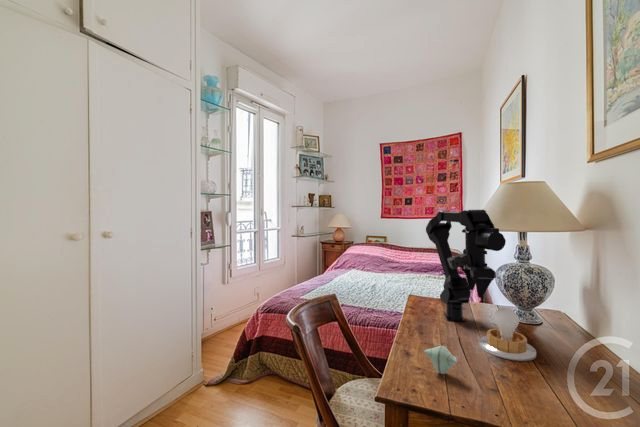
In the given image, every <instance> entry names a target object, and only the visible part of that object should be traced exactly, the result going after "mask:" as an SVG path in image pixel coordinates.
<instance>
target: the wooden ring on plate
mask: <svg viewBox="0 0 640 427" xmlns="http://www.w3.org/2000/svg"><path fill="white" fill-rule="evenodd" d="M478 345H479V347H480V348H481V349H482V350H483V351H484V352H486V353H488V354H490V355H492V356H494V357H497V358H501V359H504V360H507V361H508V360H509V361H513V362H531V361H533V360H535V359H536V358H537V350H536V349H535V348H534V346H532V345H531V344H529V343H528V338H527V337H526V336H525V335H524V334H522V333H519V332H517V331H515V330H514V333H513V338H512V341H506V340H502V339H501V335H500V330H499V328H490V329H488V330H487V331H486V335H484V336H481V337H480V338H479V340H478Z"/></svg>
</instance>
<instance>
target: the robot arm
mask: <svg viewBox="0 0 640 427" xmlns="http://www.w3.org/2000/svg"><path fill="white" fill-rule="evenodd" d="M452 223H459V224H460V225H461V226H463V227H464V228H463V229H462V230H461V232H462V233H464V235H465V248H463V249H462V253H461V254H456V255H454V256H453V252H452V251H451V247H450V245H449V237H450V230H451V229H452ZM425 232H426V235H427V236H428V239H429V240H430V241H431V242H432V243H433V244H434V245H435V248H436V251H437V255H438V257H439V258H438V259H439V262H440V264H441V267H442V270H443V274H444V278H445V279H444V282H443V284H442V285H443V290H442V292H441V293H440V295H439V297H440V301H441V302H442V303H444V304H445V312H444V313H443V316H444V318H445V319H446V320H447V321H449V322H450V321H452V322H453V321H454V322H466V321H467V320H466V319H465V317H464V312H463V311H464V310H463V309H464V306H463V304H469V301H470V298H471V291H473V290H474V289H475V288H476V293H477V297H478V299H482V298H483V297H484V296H485V293H486V292H487V290H488V288H489V287H490V284H491V283H492V281H494V279H496V271H495V270H494V269H493V268H491V267H489V266H488V263H486V255H488V251H487V250H489V251H495V252H500V251H502V250H503V249H504V247H505V245H506V242H507V241H506V239H505V236H504V234H502V233H501V232H500V228H496V227H495V224H494V223H493V222H492V220H491V218H490V215H489V214H488V213H487V210H485V209H465V210H460V211H450V210H441V211H438V212H437V213H436V215H435V216H434V217H432V218H431V219H430V220H429V221H428V223H427V225H426V226H425ZM458 268H459V270H461V272H463V273H464V274H465V277H462V276H461V275H460V274H459V271H458Z"/></svg>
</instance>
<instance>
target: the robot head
mask: <svg viewBox="0 0 640 427" xmlns="http://www.w3.org/2000/svg"><path fill="white" fill-rule="evenodd" d="M423 353H424V354H425V355H426V356H427V357H428V358H429V359H430V361H431V363H432V365H433V367H434V370H435V371H436V372H437V373H439V374H440V375H446V374H447V373H448V372H449V371H450V370H451V368H452V367H453V366H455V364H457V363H458V362H457V357H456V356H454V355H452V353H451V352H450V351H449V349H448V348H447V347H446V346H444V345H438V346H435V347H432V348H426V349H425V350H424V351H423Z"/></svg>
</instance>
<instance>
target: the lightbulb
mask: <svg viewBox="0 0 640 427" xmlns="http://www.w3.org/2000/svg"><path fill="white" fill-rule="evenodd" d="M493 319H494V322H495V324H496V326H497V327H498V329H499V330H500V335H501V339H502V340H506V341H512V338H513V333H514V331H515V330H516V329H517V327H518V326H519V323H520V318H519V316H518V314H517V313H516V312H515V311H514V310H513V309H511V308H508V307H501V308H497V309H496V311H495V312H494V314H493Z"/></svg>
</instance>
